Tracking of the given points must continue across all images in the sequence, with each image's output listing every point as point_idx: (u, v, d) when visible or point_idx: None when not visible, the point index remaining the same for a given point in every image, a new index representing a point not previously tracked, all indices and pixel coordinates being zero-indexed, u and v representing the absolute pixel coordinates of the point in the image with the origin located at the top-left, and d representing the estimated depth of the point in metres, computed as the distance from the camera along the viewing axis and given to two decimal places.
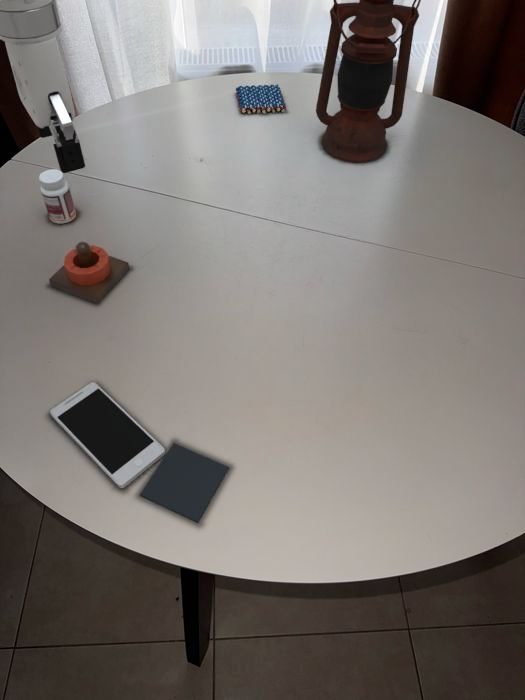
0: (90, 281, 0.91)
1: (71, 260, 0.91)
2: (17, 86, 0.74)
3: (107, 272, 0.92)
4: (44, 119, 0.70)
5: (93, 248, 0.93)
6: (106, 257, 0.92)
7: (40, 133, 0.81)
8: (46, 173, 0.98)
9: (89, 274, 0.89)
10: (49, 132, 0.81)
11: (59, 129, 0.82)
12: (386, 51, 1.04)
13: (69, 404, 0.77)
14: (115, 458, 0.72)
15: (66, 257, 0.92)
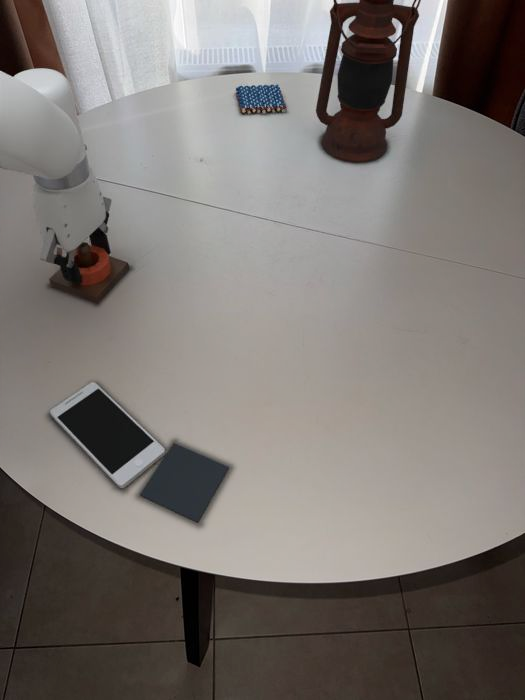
0: (90, 281, 0.91)
1: None
2: None
3: (107, 272, 0.92)
4: (44, 240, 0.84)
5: (93, 248, 0.93)
6: (106, 257, 0.92)
7: None
8: None
9: (89, 274, 0.89)
10: None
11: None
12: (386, 51, 1.04)
13: (69, 404, 0.77)
14: (115, 458, 0.72)
15: None
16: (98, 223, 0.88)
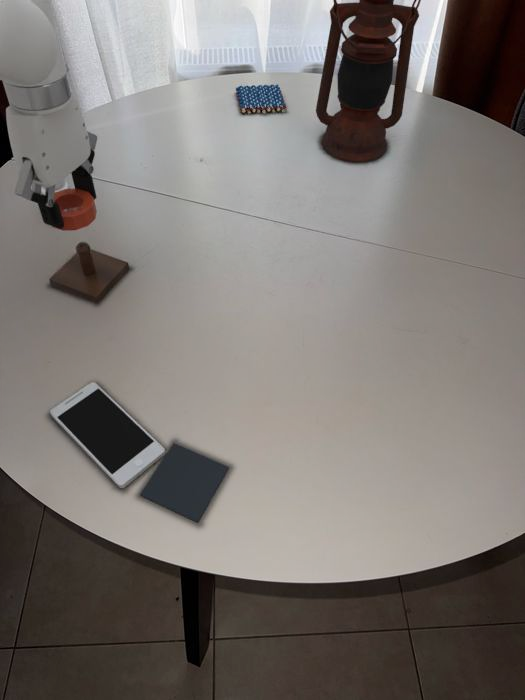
0: (73, 226, 0.82)
1: None
2: None
3: (92, 218, 0.84)
4: None
5: (76, 191, 0.85)
6: (91, 200, 0.83)
7: None
8: None
9: (72, 217, 0.81)
10: None
11: None
12: (386, 51, 1.04)
13: (69, 404, 0.77)
14: (115, 458, 0.72)
15: None
16: (82, 159, 0.79)
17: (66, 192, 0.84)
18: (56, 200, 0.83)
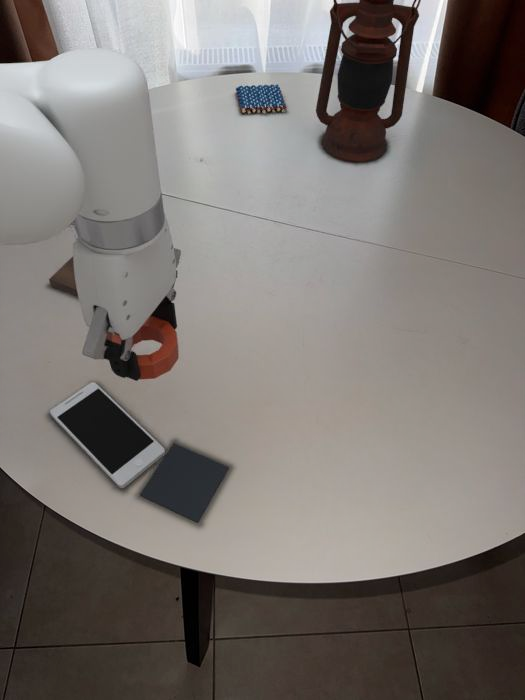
0: (152, 374, 0.60)
1: None
2: None
3: (176, 358, 0.62)
4: (88, 322, 0.53)
5: (152, 321, 0.63)
6: (174, 336, 0.62)
7: None
8: None
9: (152, 365, 0.59)
10: None
11: None
12: (386, 51, 1.04)
13: (69, 404, 0.77)
14: (115, 458, 0.72)
15: (114, 337, 0.61)
16: (166, 290, 0.57)
17: None
18: None
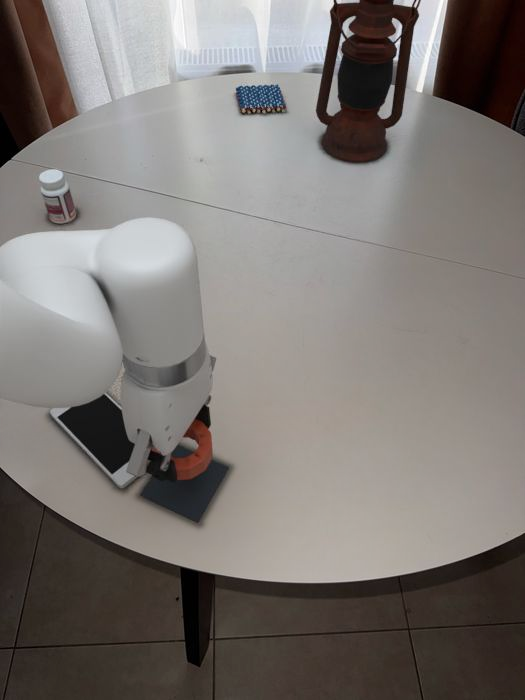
0: (188, 476, 0.64)
1: None
2: None
3: (210, 458, 0.65)
4: (131, 439, 0.57)
5: None
6: (209, 438, 0.65)
7: None
8: (46, 173, 0.98)
9: (188, 469, 0.62)
10: None
11: None
12: (386, 51, 1.04)
13: None
14: (115, 458, 0.72)
15: None
16: (203, 401, 0.61)
17: None
18: None
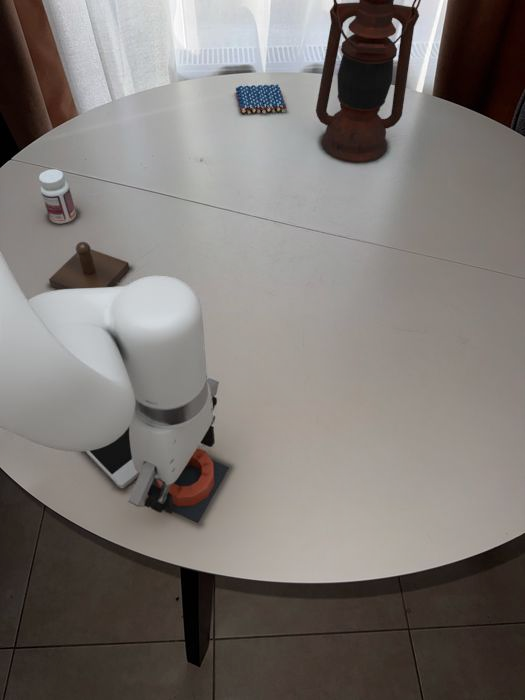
0: (192, 502, 0.69)
1: None
2: None
3: (212, 486, 0.70)
4: (137, 469, 0.61)
5: None
6: (211, 467, 0.70)
7: None
8: (46, 172, 0.98)
9: (192, 497, 0.67)
10: None
11: (208, 444, 0.71)
12: (386, 51, 1.04)
13: None
14: (115, 458, 0.72)
15: None
16: (204, 433, 0.65)
17: None
18: None
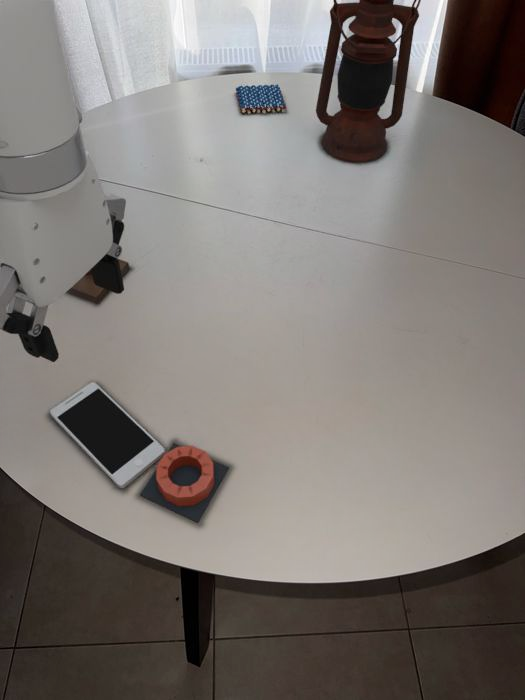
0: (192, 502, 0.69)
1: (166, 473, 0.69)
2: None
3: (212, 486, 0.70)
4: None
5: (191, 450, 0.71)
6: (211, 467, 0.70)
7: (93, 279, 0.57)
8: None
9: (192, 497, 0.67)
10: (103, 284, 0.56)
11: (115, 289, 0.56)
12: (386, 51, 1.04)
13: (69, 404, 0.77)
14: (115, 458, 0.72)
15: (159, 467, 0.70)
16: (99, 255, 0.50)
17: (179, 452, 0.71)
18: (169, 466, 0.70)
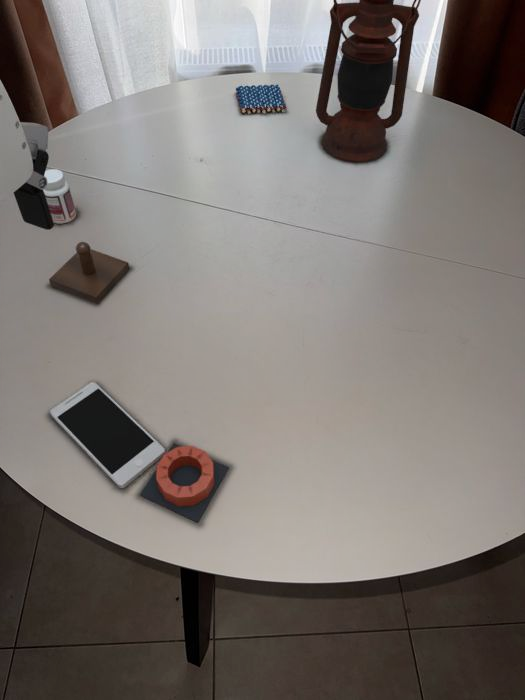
0: (192, 502, 0.69)
1: (166, 473, 0.69)
2: None
3: (212, 486, 0.70)
4: None
5: (191, 450, 0.71)
6: (211, 467, 0.70)
7: (22, 215, 0.55)
8: (46, 173, 0.98)
9: (192, 497, 0.67)
10: (32, 220, 0.55)
11: (44, 224, 0.54)
12: (386, 51, 1.04)
13: (69, 404, 0.77)
14: (115, 458, 0.72)
15: (159, 467, 0.70)
16: (17, 181, 0.48)
17: (179, 452, 0.71)
18: (169, 466, 0.70)
